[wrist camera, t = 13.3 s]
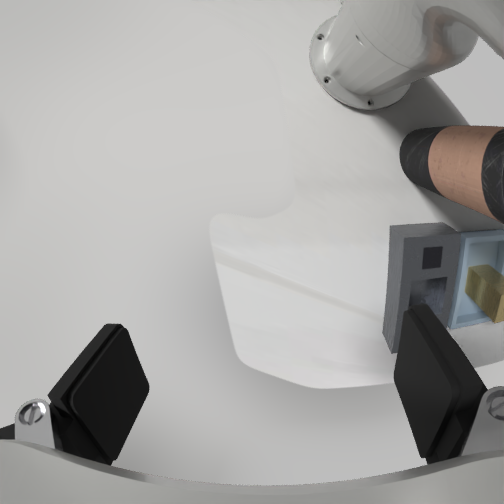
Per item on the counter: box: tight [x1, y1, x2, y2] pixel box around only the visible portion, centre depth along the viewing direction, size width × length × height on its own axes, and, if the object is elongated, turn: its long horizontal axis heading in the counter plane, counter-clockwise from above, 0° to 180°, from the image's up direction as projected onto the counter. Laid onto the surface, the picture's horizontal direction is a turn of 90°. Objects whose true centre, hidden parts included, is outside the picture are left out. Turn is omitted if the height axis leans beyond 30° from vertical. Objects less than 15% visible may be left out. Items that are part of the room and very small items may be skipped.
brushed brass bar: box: [464, 264, 504, 323], centre depth 32 cm, size 4×4×9 cm
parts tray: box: [447, 229, 504, 329], centre depth 36 cm, size 14×9×2 cm, turn 7°
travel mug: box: [400, 126, 504, 224], centre depth 23 cm, size 8×8×20 cm
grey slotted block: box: [382, 222, 461, 353], centre depth 36 cm, size 16×8×5 cm, turn 7°
